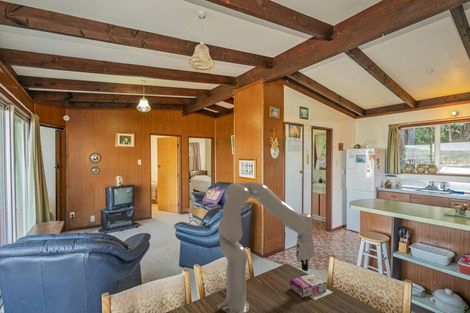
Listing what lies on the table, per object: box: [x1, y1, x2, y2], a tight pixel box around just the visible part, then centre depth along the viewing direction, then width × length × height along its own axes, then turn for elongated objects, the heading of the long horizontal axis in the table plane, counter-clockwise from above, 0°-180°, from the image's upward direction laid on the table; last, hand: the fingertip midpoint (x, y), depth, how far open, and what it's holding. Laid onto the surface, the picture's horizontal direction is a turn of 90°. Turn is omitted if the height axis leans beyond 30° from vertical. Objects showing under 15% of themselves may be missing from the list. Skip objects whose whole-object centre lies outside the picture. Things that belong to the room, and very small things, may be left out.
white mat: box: [308, 288, 333, 301], centre depth 139 cm, size 13×19×1 cm
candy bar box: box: [289, 273, 328, 299], centre depth 137 cm, size 11×5×16 cm
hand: (304, 270), depth 137 cm, fingers closed
